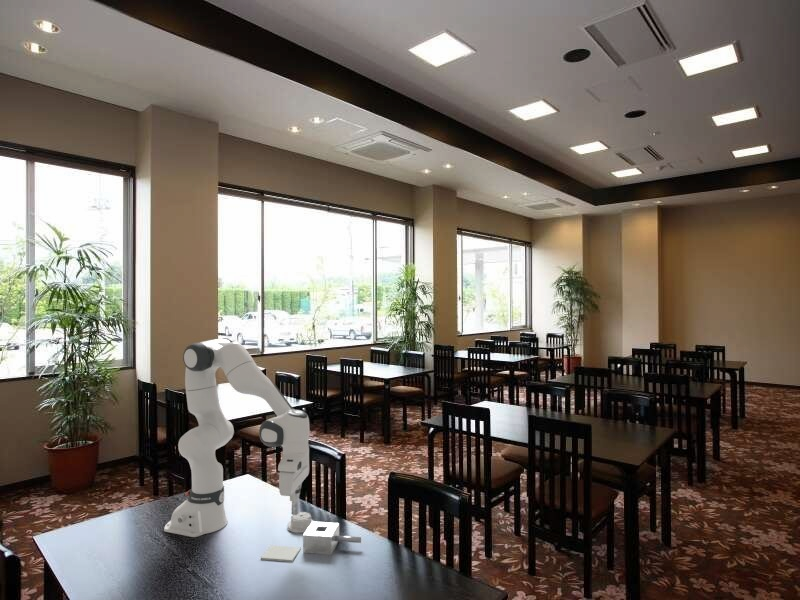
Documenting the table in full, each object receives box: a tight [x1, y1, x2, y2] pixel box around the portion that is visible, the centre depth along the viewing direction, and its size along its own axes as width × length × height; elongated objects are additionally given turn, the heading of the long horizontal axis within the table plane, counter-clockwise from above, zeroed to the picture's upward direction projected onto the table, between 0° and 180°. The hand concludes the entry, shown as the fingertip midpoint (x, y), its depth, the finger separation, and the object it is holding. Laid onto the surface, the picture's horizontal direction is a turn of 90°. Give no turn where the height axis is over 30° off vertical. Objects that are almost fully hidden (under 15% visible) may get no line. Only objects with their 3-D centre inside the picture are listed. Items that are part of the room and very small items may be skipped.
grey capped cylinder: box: [291, 486, 301, 516], centre depth 162 cm, size 3×3×9 cm
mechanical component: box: [287, 511, 314, 534], centre depth 179 cm, size 10×4×10 cm
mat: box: [260, 544, 302, 563], centre depth 160 cm, size 11×8×1 cm
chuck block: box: [302, 520, 362, 555], centre depth 164 cm, size 19×10×6 cm, turn 82°
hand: (294, 498), depth 162 cm, fingers closed on grey capped cylinder, 2 cm apart
